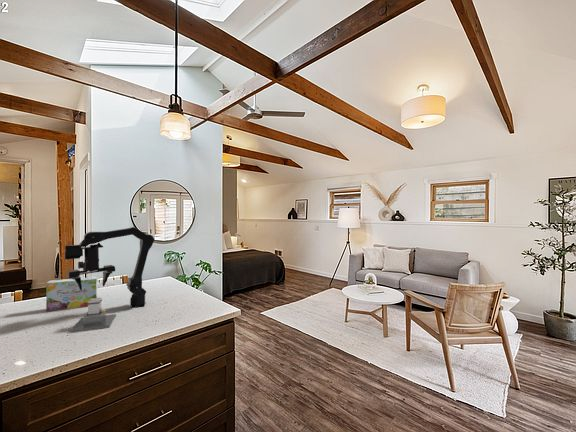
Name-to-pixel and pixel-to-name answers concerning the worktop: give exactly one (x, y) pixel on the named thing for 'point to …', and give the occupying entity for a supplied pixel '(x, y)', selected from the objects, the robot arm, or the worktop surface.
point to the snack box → (70, 293)
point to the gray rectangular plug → (94, 306)
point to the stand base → (94, 322)
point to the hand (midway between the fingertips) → (92, 288)
